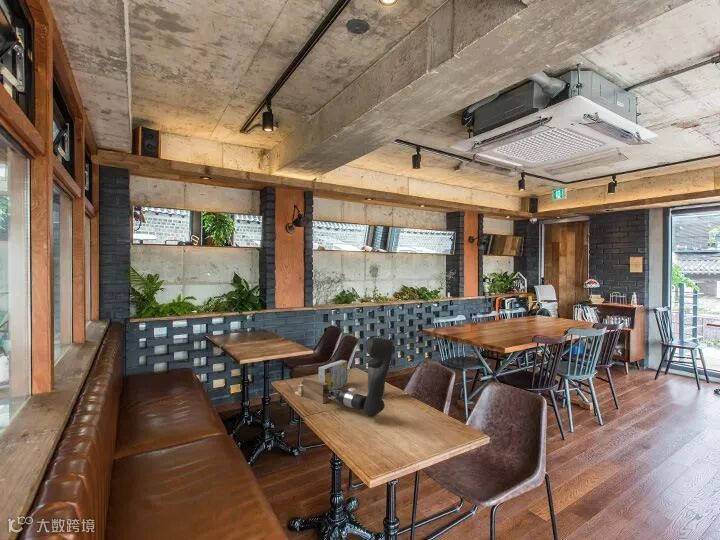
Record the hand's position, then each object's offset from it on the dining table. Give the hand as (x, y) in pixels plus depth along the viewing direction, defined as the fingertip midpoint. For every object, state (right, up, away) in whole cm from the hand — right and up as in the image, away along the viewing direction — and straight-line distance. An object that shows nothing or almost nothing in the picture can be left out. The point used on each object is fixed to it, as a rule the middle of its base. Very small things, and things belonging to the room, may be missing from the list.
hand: (325, 390), depth 204 cm
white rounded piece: (+14, -7, +5) cm, 17 cm away
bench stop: (-13, -6, +15) cm, 21 cm away
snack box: (+3, -6, +23) cm, 24 cm away
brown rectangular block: (-6, -6, +5) cm, 10 cm away
